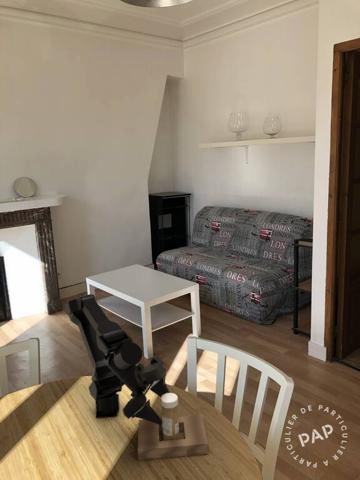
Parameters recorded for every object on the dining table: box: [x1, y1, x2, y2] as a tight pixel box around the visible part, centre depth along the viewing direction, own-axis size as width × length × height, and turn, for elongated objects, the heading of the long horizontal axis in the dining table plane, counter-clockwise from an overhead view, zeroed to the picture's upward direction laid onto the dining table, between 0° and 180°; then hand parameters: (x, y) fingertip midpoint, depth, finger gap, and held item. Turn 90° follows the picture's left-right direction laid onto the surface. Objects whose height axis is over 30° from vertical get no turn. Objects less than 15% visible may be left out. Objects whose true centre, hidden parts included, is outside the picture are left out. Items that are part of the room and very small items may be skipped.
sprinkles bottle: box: [160, 392, 181, 441], centre depth 112 cm, size 5×5×13 cm
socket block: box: [137, 414, 209, 461], centre depth 113 cm, size 18×12×3 cm, turn 94°
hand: (167, 412), depth 112 cm, fingers open, 9 cm apart
